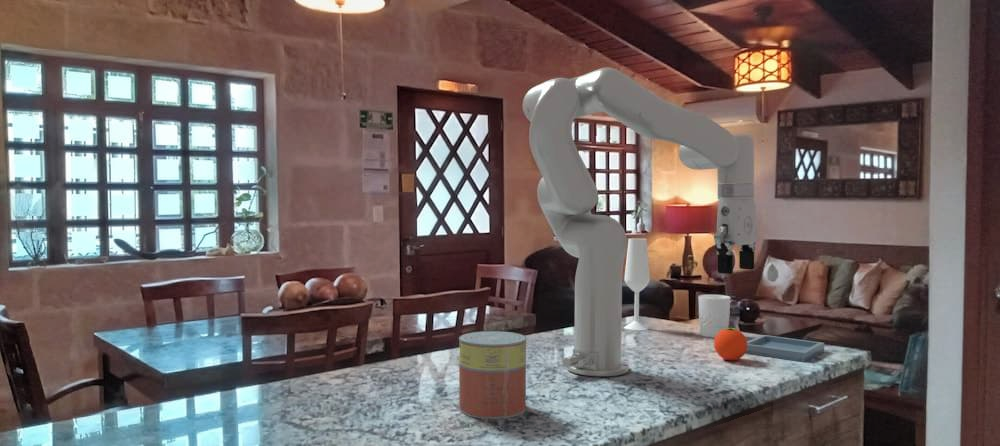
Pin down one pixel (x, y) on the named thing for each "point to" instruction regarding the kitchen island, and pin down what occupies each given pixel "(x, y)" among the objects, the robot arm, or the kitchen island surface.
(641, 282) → the champagne flute
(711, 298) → the white cup
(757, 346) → the dish
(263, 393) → the kitchen island surface
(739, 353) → the clementine
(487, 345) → the canned food
